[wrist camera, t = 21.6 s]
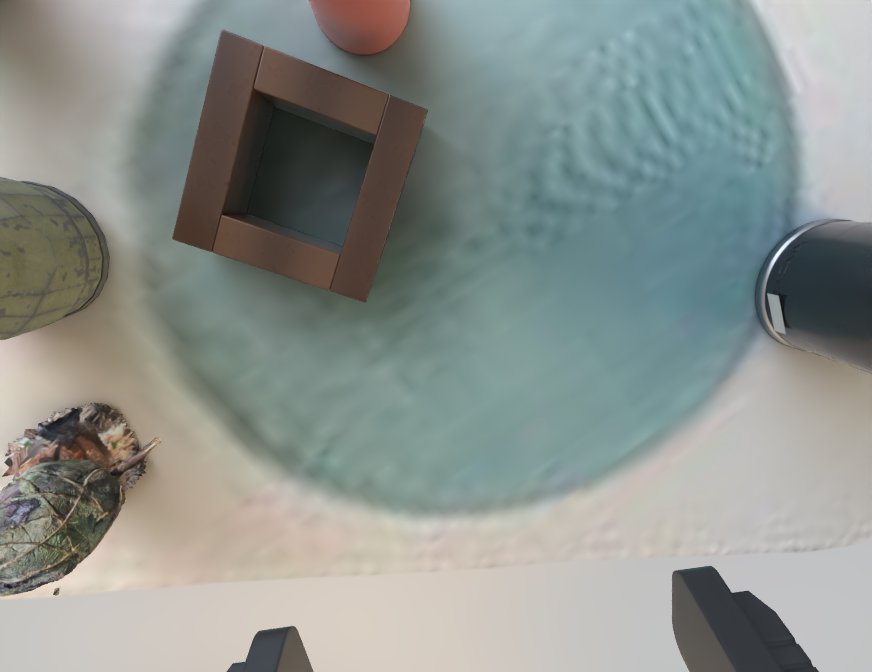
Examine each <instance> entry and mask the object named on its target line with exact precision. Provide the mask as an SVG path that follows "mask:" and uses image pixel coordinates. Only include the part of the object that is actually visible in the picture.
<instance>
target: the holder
mask: <svg viewBox="0 0 872 672" xmlns="http://www.w3.org/2000/svg"><path fill="white" fill-rule="evenodd" d="M274 106H275V107H276V108H279V109H282V110H284V111H287V112H290V113H292V114H295V115H298V116H300V117H303V118H306V119H308V120H311V121H314V122H316V123H319V124H322V125H324V126H327V127H330V128H332V129H335V130H337V131H340V132H343V133H345V134H348V135H351V136H353V137H356V138H359V139H361V140H364V141H367V142H369V143H372V144H374V147H373V150H372V154H371V157H370V160H369V163H368V167H367V170H366V173H365V176H364V180H363V183H362V186H361V189H360V193H359V196H358V199H357V202H356V206H355V209H354V212H353V216H352V219H351V222H350V225H349V229H348V232H347V235H346V238H345V242H344V245H343V246H340V245H337V244H334V243H331V242H328V241H325V240H322V239H319V238H316V237H313V236H310V235H307V234H305V233H302V232H299V231H296V230H293V229H290V228H287V227H284V226H281V225H278V224H275V223H272V222H269V221H266V220H263V219H261V218H258V217H255V216H252V215H249V214H246V213H247V209H248V205H249V201H250V197H251V194H252V190H253V186H254V182H255V178H256V175H257V171H258V167H259V163H260V159H261V156H262V152H263V148H264V144H265V140H266V136H267V133H268V129H269V125H270V121H271V117H272V114H273V110H274ZM427 112H428V110H427V109H425V108H422V107H419V106H417V105H414V104H412V103H409V102H407V101H404V100H402V99H399V98H396V97H394V96H391V95H388V94H386V93H383V92H381V91H378V90H376V89H373V88H371V87H368V86H366V85H363V84H360V83H358V82H355V81H353V80H350V79H348V78H345V77H343V76H340V75H338V74H335V73H332V72H330V71H327V70H325V69H322V68H320V67H317V66H315V65H312V64H309V63H307V62H304V61H302V60H299V59H297V58H294V57H292V56H289V55H287V54H284V53H281V52H279V51H276V50H274V49H271V48H269V47H266V46H263V45H261V44H258V43H256V42H253V41H251V40H248V39H246V38H243V37H241V36H238V35H236V34H233V33H230V32H228V31H225V30H221V33H220V38H219V42H218V46H217V50H216V55H215V59H214V63H213V68H212V72H211V76H210V80H209V85H208V89H207V93H206V97H205V102H204V106H203V110H202V114H201V119H200V123H199V127H198V131H197V136H196V140H195V144H194V148H193V153H192V157H191V161H190V165H189V170H188V174H187V178H186V182H185V187H184V191H183V195H182V200H181V204H180V208H179V212H178V217H177V221H176V225H175V229H174V234H173V240H176V241H179V242H182V243H185V244H188V245H191V246H194V247H197V248H200V249H203V250H206V251H210V252H213V253H216V254H219V255H222V256H225V257H228V258H231V259H234V260H237V261H240V262H243V263H246V264H249V265H252V266H256V267H259V268H262V269H265V270H268V271H271V272H274V273H277V274H280V275H283V276H286V277H289V278H292V279H295V280H298V281H301V282H305V283H308V284H311V285H314V286H317V287H320V288H323V289H326V290H330V291H332V292H335V293H338V294H341V295H344V296H347V297H350V298H353V299H356V300H359V301H362V302H366V301H367V298H368V294H369V291H370V288H371V285H372V282H373V279H374V276H375V273H376V270H377V267H378V263H379V260H380V257H381V254H382V251H383V248H384V245H385V242H386V239H387V236H388V233H389V229H390V226H391V223H392V220H393V217H394V214H395V211H396V208H397V205H398V202H399V198H400V195H401V192H402V189H403V186H404V183H405V180H406V177H407V174H408V171H409V168H410V164H411V161H412V158H413V155H414V152H415V149H416V146H417V143H418V140H419V137H420V134H421V130H422V127H423V124H424V121H425V118H426V115H427Z"/></svg>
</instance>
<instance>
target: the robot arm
mask: <svg viewBox="0 0 872 672" xmlns="http://www.w3.org/2000/svg"><path fill="white" fill-rule="evenodd" d="M755 297H756V308H757V312H758V316H759V318H760V321H761V323H762V325H763V326H764V328H765V329H766V330H767V332H768V333H769V334H770V335H771V336H772V337H773V338H775V339H776V340H777V341H779V342H781V343H782V344H785V345H787V346H790V347H793V348H796V349H799V350H803V351H809V352H812V353H815V354H818V355H820V356H823V357H826V358H829V359H831V360H834V361H837V362H840V363H843V364H846V365H848V366H851V367H854V368H857V369H860V370H863V371H866V372H869V373H872V222H857V221H850V220H837V219H826V220H819V221H814V222H811V223H808V224H805V225H803V226H801V227H799V228H797V229H795V230H794V231H792V232H791V233H789V234H788V235H787V236H786V237H784V238H783V239H782V240H781V241H780V242H779V243H778V244H777V245H776V246H775V247H774V249H773V250H772V251H771V253H770V254H769V256H768V257H767V259H766V260H765V262H764V264H763V266H762V269H761V271H760V274H759V277H758V281H757V286H756V296H755ZM672 624H673V630H674V634H675V638H676V642H677V645H678V648H679V650H680V653H681V655H682V657H683V659H684V661H685V663H686V665H687V668H688V670H689V671H690V672H819V671H818V670H817V669H816V667H813V666H812V663H811V660H810V659H809V658H808V656H807V655H806V653H805V652H804V651H803V649H802V648H801V647H800V645H799V644H796V642H795V638H794V637H793V636H792V634H791V633H790V631H789V630H788V629H787V627H786V626H785V625H784V623H783V622H782V621H781V619H780V618H779V616H778V615H777V614H776V612H775V611H773V610H772V609H771V608H770V607H768V606H767V605H766V604H764V603H763V602H762V601H761V600H759V599H758V598H757V597H755V596H754V595H753V594H752V593H750V592H749V591H743V592H736V593H732V592H731V591H730V589H729V588H728V586H727V585H726V584H725V582H724V580H723V579H722V578H721V576H720V575H719V573H718V572H717V570H716V569H715V568H713V567H712V566H705V567H699V568H691V569H684V570H678V571H674V572H673V575H672ZM227 672H313V669H312V667H311V664H310V662H309V659H308V656H307V654H306V651H305V648H304V646H303V643H302V640H301V638H300V636H299V633H298V630H297V629H296V627H294V626H290V627H284V628H277V629H269V630H262V631H259V632H258V633H257V634H256V635H255V637H254V639H253V641H252V644H251V647H250V650H249V653H248V656H247V659H246V662H241V663H233V664H232V665H231V667H230V668H229V669H228V671H227Z"/></svg>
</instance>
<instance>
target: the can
mask: <svg viewBox="0 0 872 672" xmlns="http://www.w3.org/2000/svg"><path fill="white" fill-rule="evenodd" d="M410 1H411V0H309V2H310V5H311V7H312V9H313V12H314V14H315V16H316V19H317V21H318V24H319V26H320V27H321V29H322V31H323V32H324V33H325V35H326V36H327V37H328V38H329V39H330V40H331V41H332V42H333V43H334V44H335V45H336V46H338V47H340V48H341V49H343V50H345V51H347V52H350V53H353V54H359V55H369V54H375V53H378V52H381V51H383V50H385V49H387V48H388V47H390V46H391V45H392V44H393V43H394V42H395V41H396V40H397V39H398V38H399V37H400V35H401V34H402V32H403V30H404V28H405V26H406V24H407V21H408V17H409V12H410Z"/></svg>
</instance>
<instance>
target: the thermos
mask: <svg viewBox="0 0 872 672" xmlns="http://www.w3.org/2000/svg"><path fill="white" fill-rule="evenodd" d="M108 265H109V254H108V250H107V245H106V241H105V237H104V235H103V233H102V231H101V229H100V228H99V226H98V224H97V223H96V221H95V219H94V217H93V216H92V215H91V214H90V213H89V212H88V211H87V210H86V209H85V208H84V207H83V206H82V205H81V204H80V203H79V202H78V201H77V200H76V199H74V198H73V197H71V196H69V195H67V194H65V193H63V192H62V191H60V190H58V189H56V188H54V187H51V186H46V185H42V184H37V183H33V182H25V181H22V182H20V181H15V180H11V179H6V178H2V177H0V340H5V339H9V338H12V337H15V336H18V335H21V334H24V333H27V332H30V331H33V330H35V329H38V328H41V327H44V326H46V325H48V324H50V323H53V322H55V321H57V320H60V319H62V318H63V317H66V316H69V315H71V314H73V313H76V312H78V311H80V310H82V309H85V308H86V307H87V306H88V305H89V304H90V303H91V302H92V301H93V300H94V299H95V298H96V297H97V296H98V295H99V294H100V292H101V290H102V288H103V285H104V283H105V281H106V279H107V276H108Z"/></svg>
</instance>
